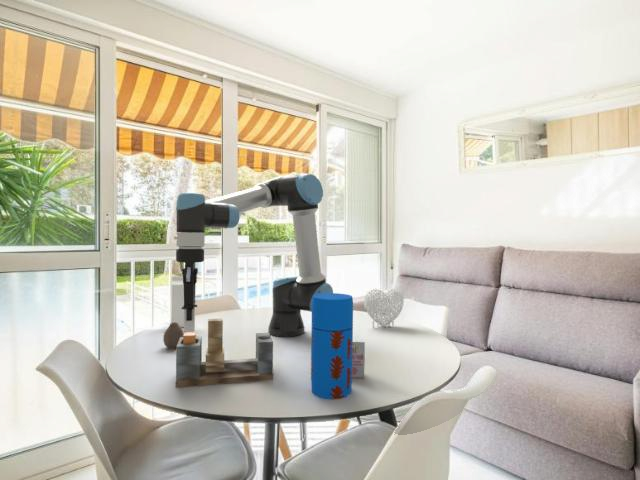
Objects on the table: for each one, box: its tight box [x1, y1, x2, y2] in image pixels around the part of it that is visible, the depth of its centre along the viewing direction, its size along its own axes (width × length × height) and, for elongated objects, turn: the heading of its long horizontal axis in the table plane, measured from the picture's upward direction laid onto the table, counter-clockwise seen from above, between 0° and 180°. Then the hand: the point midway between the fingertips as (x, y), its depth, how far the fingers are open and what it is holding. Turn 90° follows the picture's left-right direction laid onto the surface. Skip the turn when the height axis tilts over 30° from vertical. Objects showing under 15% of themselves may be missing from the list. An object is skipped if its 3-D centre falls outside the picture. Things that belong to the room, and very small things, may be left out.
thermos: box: [310, 292, 354, 400], centre depth 101 cm, size 11×11×25 cm
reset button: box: [183, 332, 197, 344], centre depth 108 cm, size 3×3×2 cm
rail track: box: [175, 332, 274, 388], centre depth 111 cm, size 26×12×11 cm, turn 104°
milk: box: [170, 275, 184, 328], centre depth 169 cm, size 6×6×22 cm
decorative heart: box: [363, 288, 405, 328], centre depth 172 cm, size 18×11×17 cm, turn 97°
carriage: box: [205, 318, 225, 372], centre depth 110 cm, size 5×7×14 cm
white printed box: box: [352, 341, 366, 380], centre depth 112 cm, size 4×7×10 cm, turn 85°
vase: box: [163, 322, 185, 350], centre depth 137 cm, size 7×7×9 cm
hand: (189, 331), depth 108 cm, fingers closed
